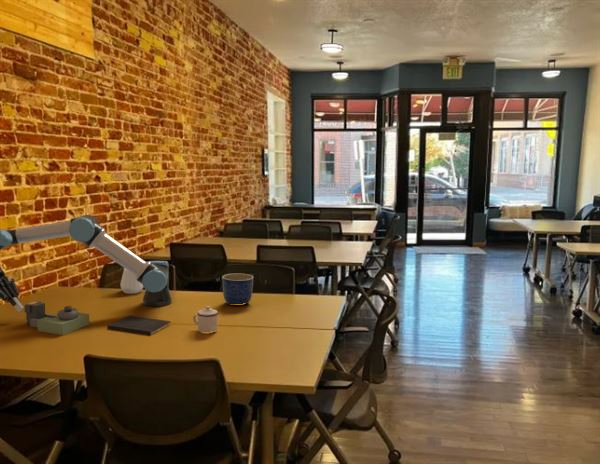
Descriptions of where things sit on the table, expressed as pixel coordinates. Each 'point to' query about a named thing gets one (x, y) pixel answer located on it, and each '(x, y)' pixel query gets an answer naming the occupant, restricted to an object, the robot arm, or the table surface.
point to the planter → (237, 288)
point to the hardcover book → (138, 325)
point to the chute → (34, 310)
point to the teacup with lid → (206, 319)
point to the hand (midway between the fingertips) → (21, 309)
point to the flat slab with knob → (61, 321)
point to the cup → (130, 283)
